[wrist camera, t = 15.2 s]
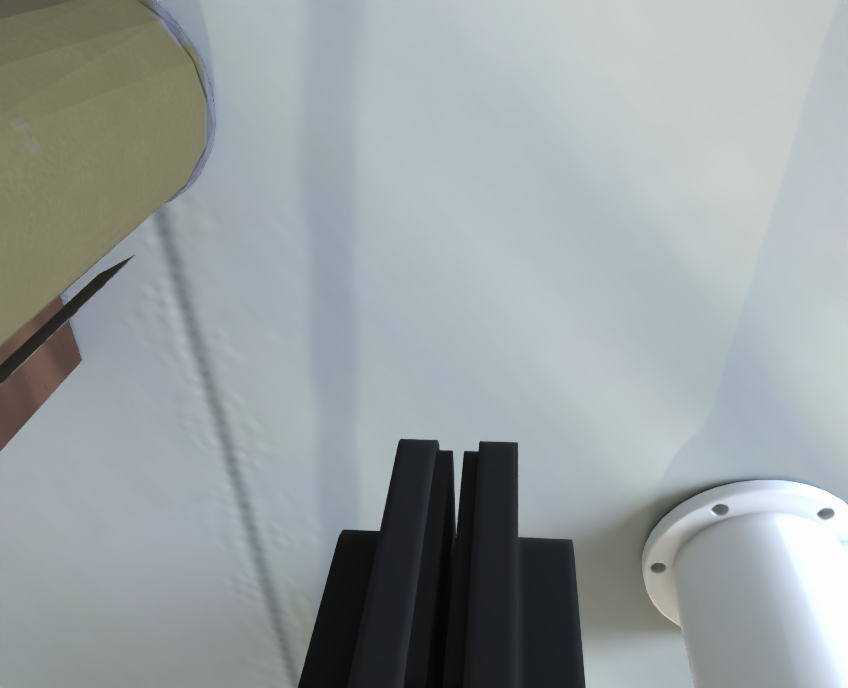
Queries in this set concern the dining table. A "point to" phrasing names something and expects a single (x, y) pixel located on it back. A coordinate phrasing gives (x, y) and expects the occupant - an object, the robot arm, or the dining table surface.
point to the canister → (88, 144)
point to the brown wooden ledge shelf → (35, 372)
